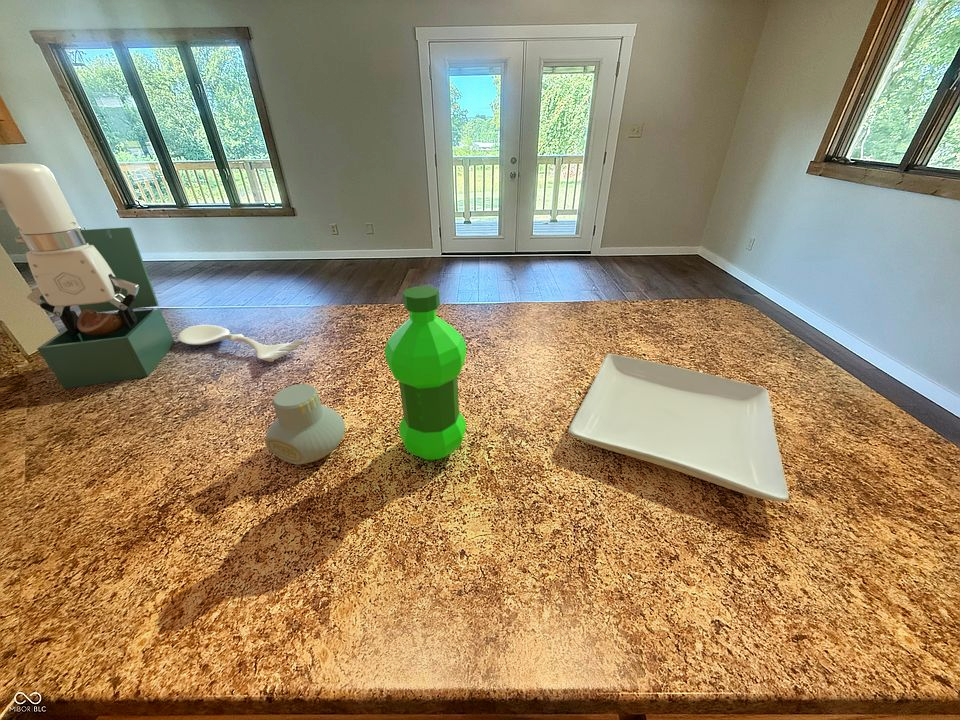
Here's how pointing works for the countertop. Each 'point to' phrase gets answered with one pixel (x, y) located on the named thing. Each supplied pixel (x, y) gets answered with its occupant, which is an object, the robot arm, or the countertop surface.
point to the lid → (121, 265)
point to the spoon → (217, 333)
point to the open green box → (109, 352)
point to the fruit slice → (98, 322)
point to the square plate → (685, 424)
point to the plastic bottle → (427, 376)
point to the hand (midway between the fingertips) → (105, 328)
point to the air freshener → (303, 426)
